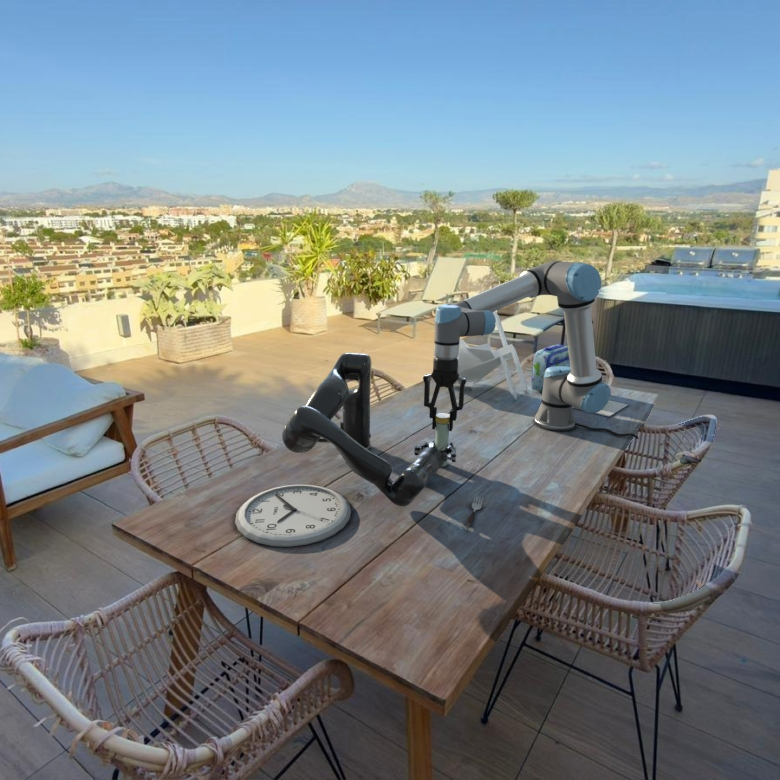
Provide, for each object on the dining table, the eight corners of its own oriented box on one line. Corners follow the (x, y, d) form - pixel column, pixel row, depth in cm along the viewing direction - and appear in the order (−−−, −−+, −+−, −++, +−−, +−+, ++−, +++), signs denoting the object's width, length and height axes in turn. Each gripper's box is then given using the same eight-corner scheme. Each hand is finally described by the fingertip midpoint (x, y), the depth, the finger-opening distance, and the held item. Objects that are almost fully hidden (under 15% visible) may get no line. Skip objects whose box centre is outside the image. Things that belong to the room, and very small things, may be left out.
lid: (443, 425, 161) (443, 419, 161) (432, 420, 165) (432, 415, 164) (453, 421, 164) (453, 415, 164) (442, 417, 168) (442, 411, 167)
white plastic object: (461, 429, 252) (437, 405, 227) (444, 352, 274) (420, 323, 250) (535, 404, 240) (518, 377, 215) (510, 326, 262) (492, 293, 237)
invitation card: (608, 416, 214) (573, 407, 224) (608, 416, 214) (573, 408, 224) (628, 404, 229) (594, 396, 238) (628, 405, 229) (594, 397, 238)
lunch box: (547, 397, 237) (552, 352, 231) (526, 391, 245) (531, 348, 238) (574, 386, 255) (580, 344, 249) (554, 381, 262) (559, 340, 256)
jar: (431, 462, 170) (433, 416, 165) (442, 460, 172) (444, 414, 167) (438, 467, 166) (440, 420, 161) (449, 465, 168) (452, 418, 163)
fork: (461, 529, 132) (462, 523, 131) (474, 500, 146) (474, 494, 146) (471, 532, 131) (472, 525, 130) (483, 502, 145) (483, 495, 145)
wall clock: (351, 538, 125) (223, 542, 122) (351, 544, 125) (223, 548, 123) (350, 480, 153) (246, 482, 151) (350, 485, 154) (246, 487, 151)
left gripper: (404, 470, 158) (423, 450, 173) (449, 480, 153) (464, 457, 168) (404, 448, 156) (423, 428, 171) (450, 456, 151) (466, 436, 166)
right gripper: (476, 356, 160) (471, 427, 167) (420, 352, 164) (417, 421, 171) (473, 362, 153) (468, 436, 160) (414, 357, 157) (412, 429, 164)
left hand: (444, 443), depth 169 cm, fingers closed on jar, 4 cm apart
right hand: (442, 428), depth 165 cm, fingers closed on lid, 5 cm apart
